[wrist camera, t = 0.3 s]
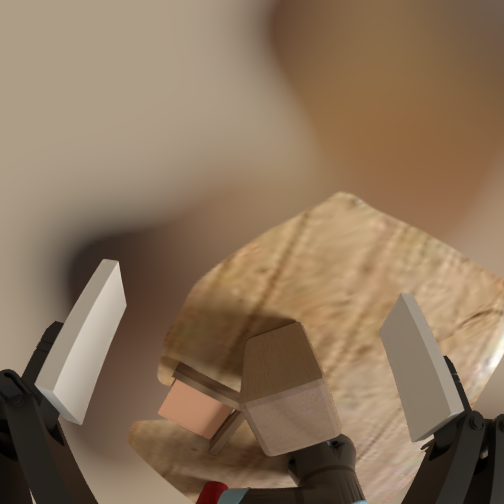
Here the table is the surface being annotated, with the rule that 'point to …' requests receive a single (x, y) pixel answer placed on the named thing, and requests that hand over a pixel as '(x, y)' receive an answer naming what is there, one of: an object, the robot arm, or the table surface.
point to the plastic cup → (211, 493)
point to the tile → (194, 410)
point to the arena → (217, 393)
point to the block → (286, 392)
